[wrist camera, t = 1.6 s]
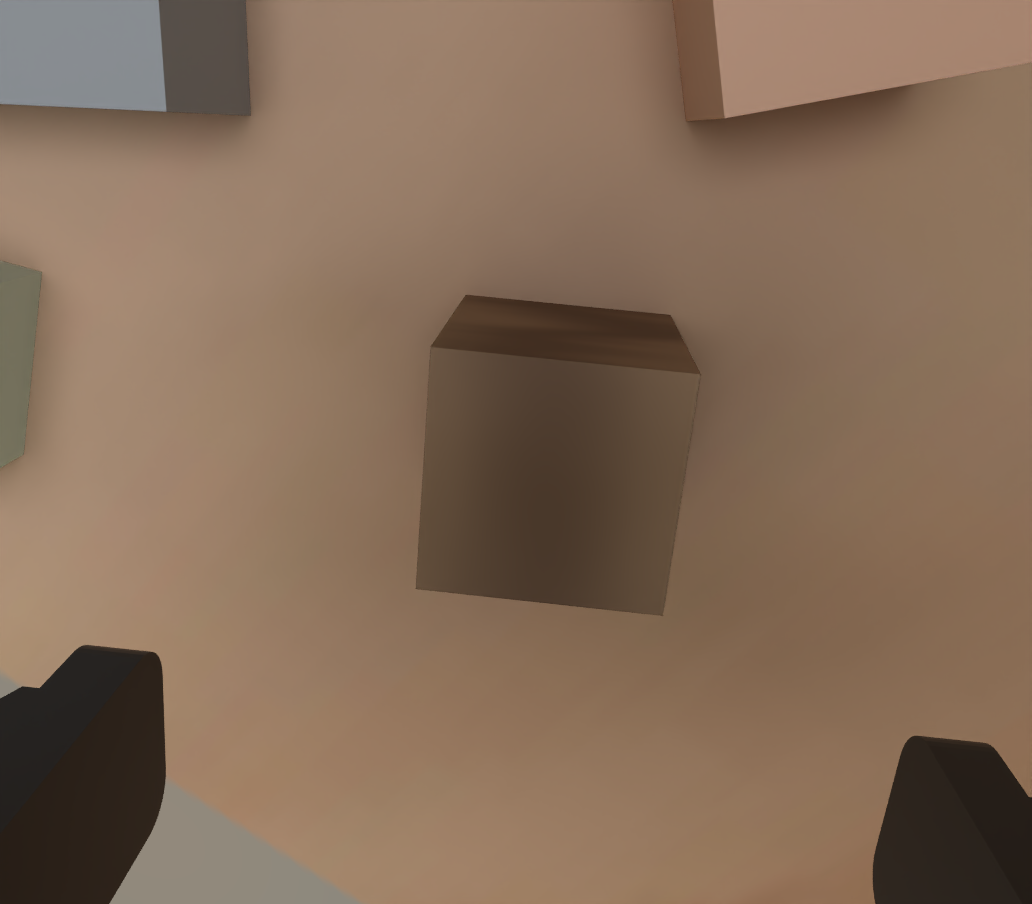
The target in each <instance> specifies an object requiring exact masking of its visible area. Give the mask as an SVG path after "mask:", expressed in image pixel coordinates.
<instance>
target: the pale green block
mask: <svg viewBox="0 0 1032 904" xmlns="http://www.w3.org/2000/svg"><path fill="white" fill-rule="evenodd" d="M41 276H42V272H40V271H37V270H33V269H29V268H26V267H22V266H18V265H15V264H11V263H8V262H4V261H0V468H1V467H3V466H5V465H6V464H8V463H10V462H11V461H13V460H15V459H17V458H18V457H20V456H22V455H23V454H24V446H25V436H26V426H27V416H28V406H29V396H30V386H31V376H32V366H33V356H34V346H35V336H36V326H37V316H38V306H39V296H40V286H41Z"/></svg>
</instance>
